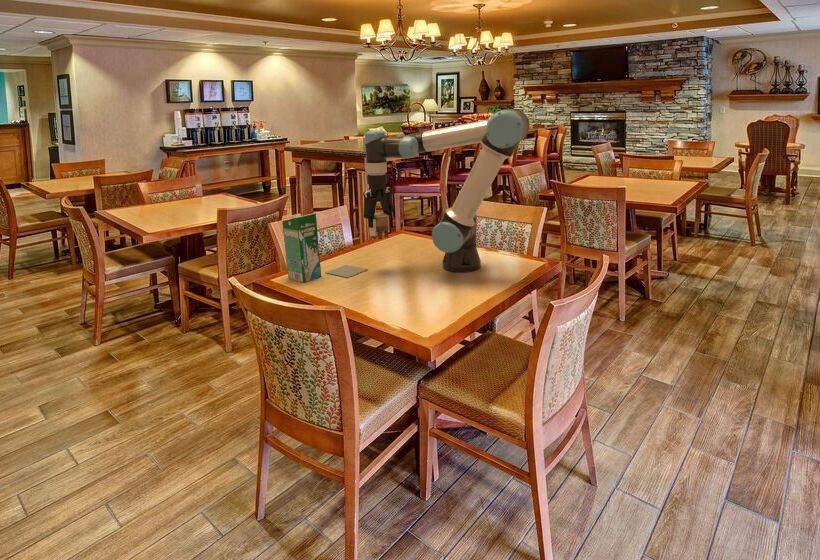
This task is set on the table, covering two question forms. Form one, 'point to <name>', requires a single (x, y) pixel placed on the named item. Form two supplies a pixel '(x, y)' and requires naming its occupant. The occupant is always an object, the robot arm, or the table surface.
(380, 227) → the footstool
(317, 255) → the milk carton
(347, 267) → the mat
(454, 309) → the table surface
